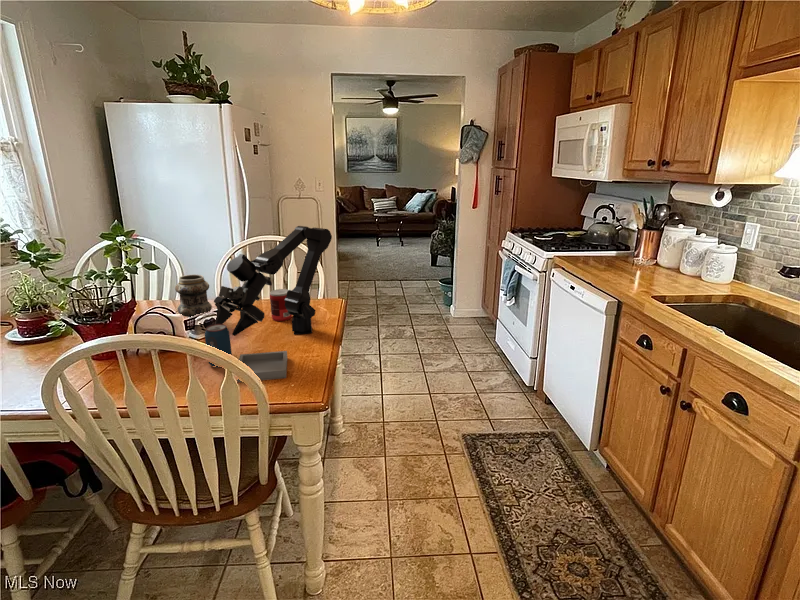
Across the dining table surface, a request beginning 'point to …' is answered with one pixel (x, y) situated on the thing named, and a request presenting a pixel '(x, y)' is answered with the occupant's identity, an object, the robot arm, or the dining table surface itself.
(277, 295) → the canned food
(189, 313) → the apothecary jar
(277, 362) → the tray
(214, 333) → the soda can
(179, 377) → the dining table surface
